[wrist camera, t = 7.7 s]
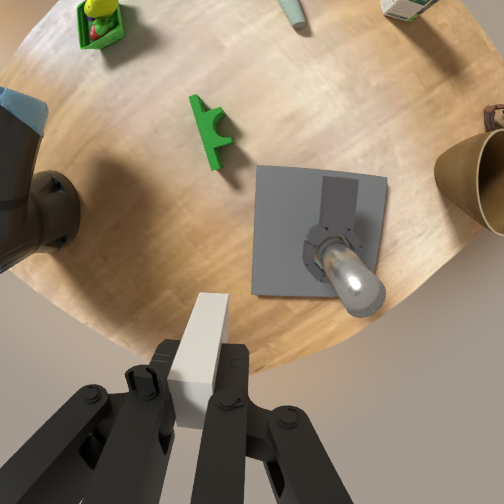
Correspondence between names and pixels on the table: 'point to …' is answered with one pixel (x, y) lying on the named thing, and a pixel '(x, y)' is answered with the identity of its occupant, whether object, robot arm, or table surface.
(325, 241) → the pipe
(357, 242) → the collar
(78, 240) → the table surface
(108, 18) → the fruit basket
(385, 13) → the syrup box
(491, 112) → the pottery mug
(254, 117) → the table surface
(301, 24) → the flashlight
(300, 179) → the pipe stand
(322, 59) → the table surface
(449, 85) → the table surface
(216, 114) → the pipe clamp
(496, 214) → the plant pot
